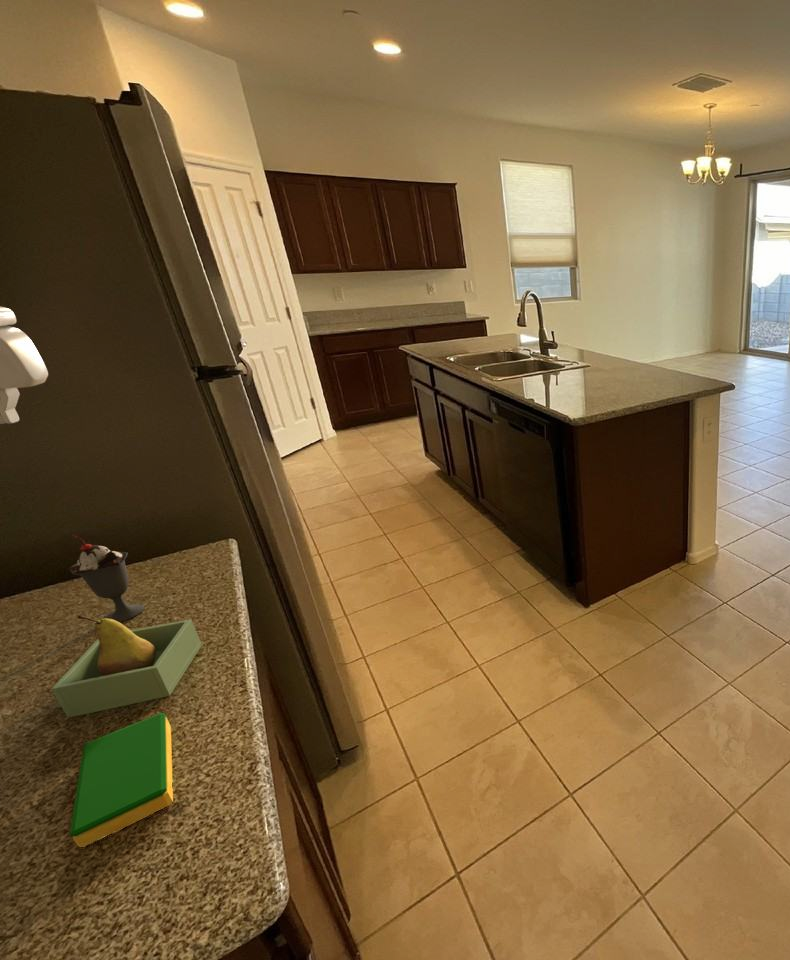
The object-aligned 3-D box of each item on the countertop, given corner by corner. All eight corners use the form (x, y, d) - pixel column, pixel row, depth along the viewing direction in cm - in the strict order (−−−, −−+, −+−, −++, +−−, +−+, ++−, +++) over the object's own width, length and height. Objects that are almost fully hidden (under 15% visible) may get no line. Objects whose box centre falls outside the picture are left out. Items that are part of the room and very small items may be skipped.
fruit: (166, 672, 72) (132, 600, 67) (110, 697, 68) (70, 622, 63) (158, 655, 75) (125, 585, 71) (104, 677, 71) (66, 605, 67)
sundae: (100, 611, 86) (60, 532, 81) (153, 597, 90) (118, 520, 84) (92, 632, 82) (49, 549, 76) (148, 616, 85) (111, 536, 79)
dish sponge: (171, 725, 65) (164, 710, 64) (173, 805, 55) (165, 789, 54) (92, 758, 61) (83, 743, 60) (79, 852, 51) (68, 835, 50)
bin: (67, 718, 66) (50, 689, 64) (114, 662, 75) (100, 635, 74) (170, 695, 69) (156, 667, 67) (202, 644, 79) (191, 618, 77)
